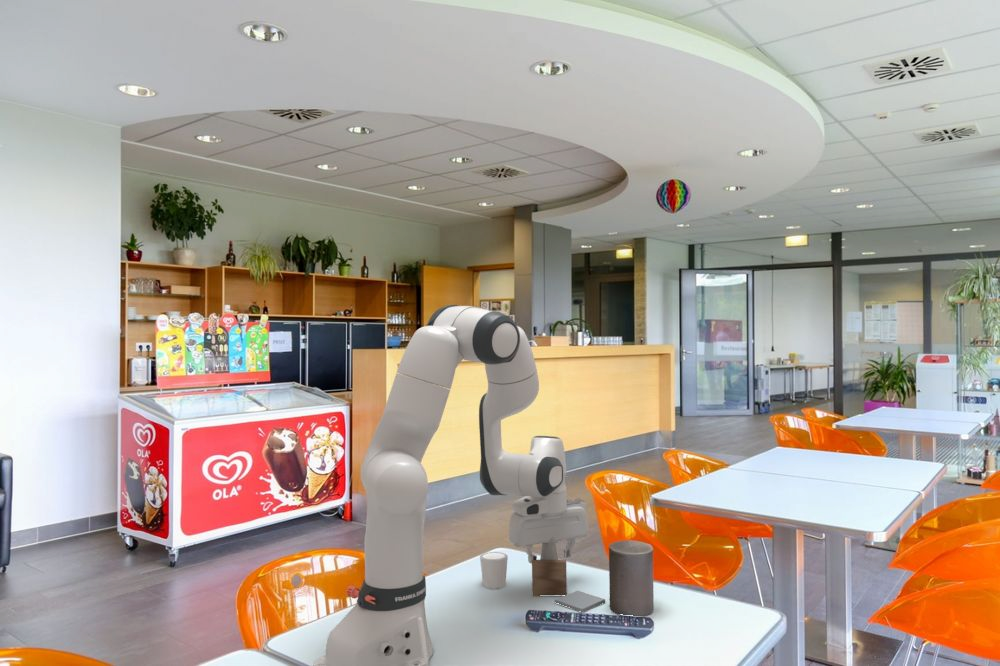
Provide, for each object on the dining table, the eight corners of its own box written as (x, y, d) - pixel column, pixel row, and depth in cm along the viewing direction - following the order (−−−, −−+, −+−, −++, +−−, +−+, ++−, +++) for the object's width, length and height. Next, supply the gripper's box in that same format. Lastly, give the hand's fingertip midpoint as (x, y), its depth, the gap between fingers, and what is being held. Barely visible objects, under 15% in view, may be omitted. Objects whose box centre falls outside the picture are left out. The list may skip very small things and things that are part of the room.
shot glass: (482, 579, 171) (482, 551, 171) (509, 580, 170) (509, 551, 170) (478, 589, 164) (477, 559, 165) (506, 589, 163) (505, 560, 164)
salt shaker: (562, 591, 162) (561, 536, 162) (538, 591, 162) (537, 536, 162) (560, 582, 168) (559, 529, 168) (537, 582, 168) (536, 529, 168)
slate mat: (582, 612, 148) (582, 609, 148) (554, 603, 154) (554, 599, 154) (605, 602, 154) (605, 599, 154) (577, 593, 160) (577, 590, 160)
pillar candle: (601, 605, 153) (599, 538, 153) (636, 597, 157) (635, 532, 157) (626, 621, 144) (625, 550, 144) (663, 612, 148) (662, 543, 148)
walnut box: (566, 593, 160) (566, 559, 160) (566, 596, 158) (566, 561, 159) (532, 593, 160) (531, 559, 161) (532, 596, 159) (531, 561, 159)
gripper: (579, 495, 172) (580, 550, 172) (505, 504, 164) (506, 562, 164) (592, 499, 166) (593, 556, 166) (516, 509, 158) (517, 569, 158)
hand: (550, 559), depth 165 cm, fingers open, 8 cm apart
